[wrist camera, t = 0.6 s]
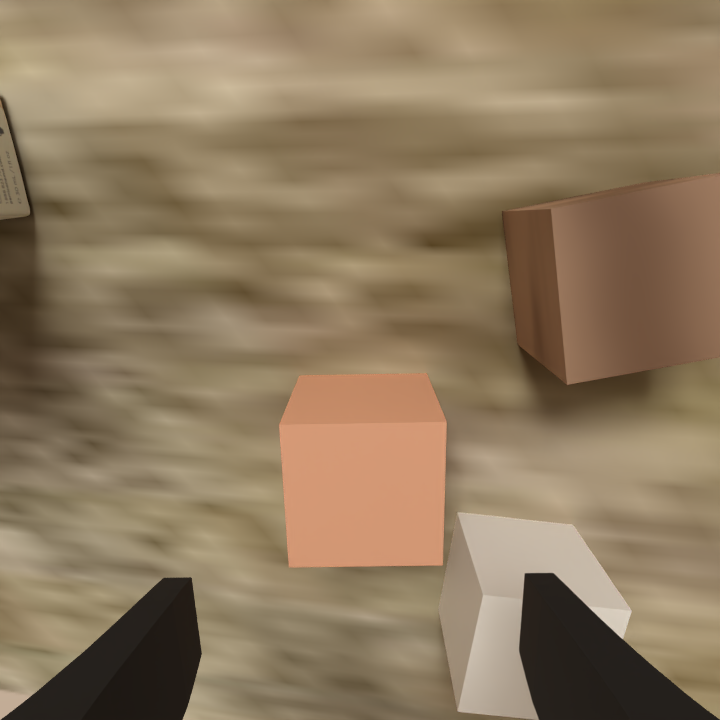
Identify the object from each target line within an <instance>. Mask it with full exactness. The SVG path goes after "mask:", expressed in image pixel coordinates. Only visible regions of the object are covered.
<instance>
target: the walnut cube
mask: <svg viewBox="0 0 720 720" xmlns="http://www.w3.org/2000/svg"><path fill="white" fill-rule="evenodd" d="M502 216H503V224H504V233H505V241H506V250H507V258H508V267H509V275H510V284H511V292H512V301H513V309H514V318H515V326H516V335H517V343H518V345H519V346H520V347H522V348H523V349H524V350H525V351H526V352H528V353H529V354H530V355H531V356H533V357H534V358H535V359H536V360H537V361H539V362H540V363H541V364H542V365H544V366H545V367H546V368H547V369H548V370H550V371H551V372H552V373H553V374H555V375H556V376H557V377H558V378H559V379H561V380H562V381H563V382H564V383H566V384H567V385H569V384H575V383H580V382H586V381H591V380H597V379H602V378H608V377H613V376H619V375H624V374H630V373H635V372H641V371H646V370H652V369H657V368H663V367H668V366H674V365H680V364H685V363H691V362H696V361H702V360H707V359H713V358H718V357H720V173H717V174H709V175H701V176H693V177H685V178H677V179H669V180H661V181H653V182H645V183H640V184H635V185H630V186H625V187H620V188H615V189H610V190H605V191H600V192H595V193H590V194H585V195H580V196H575V197H571V198H566V199H561V200H556V201H551V202H546V203H541V204H536V205H531V206H526V207H521V208H516V209H511V210H506V211H502Z"/></svg>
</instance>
